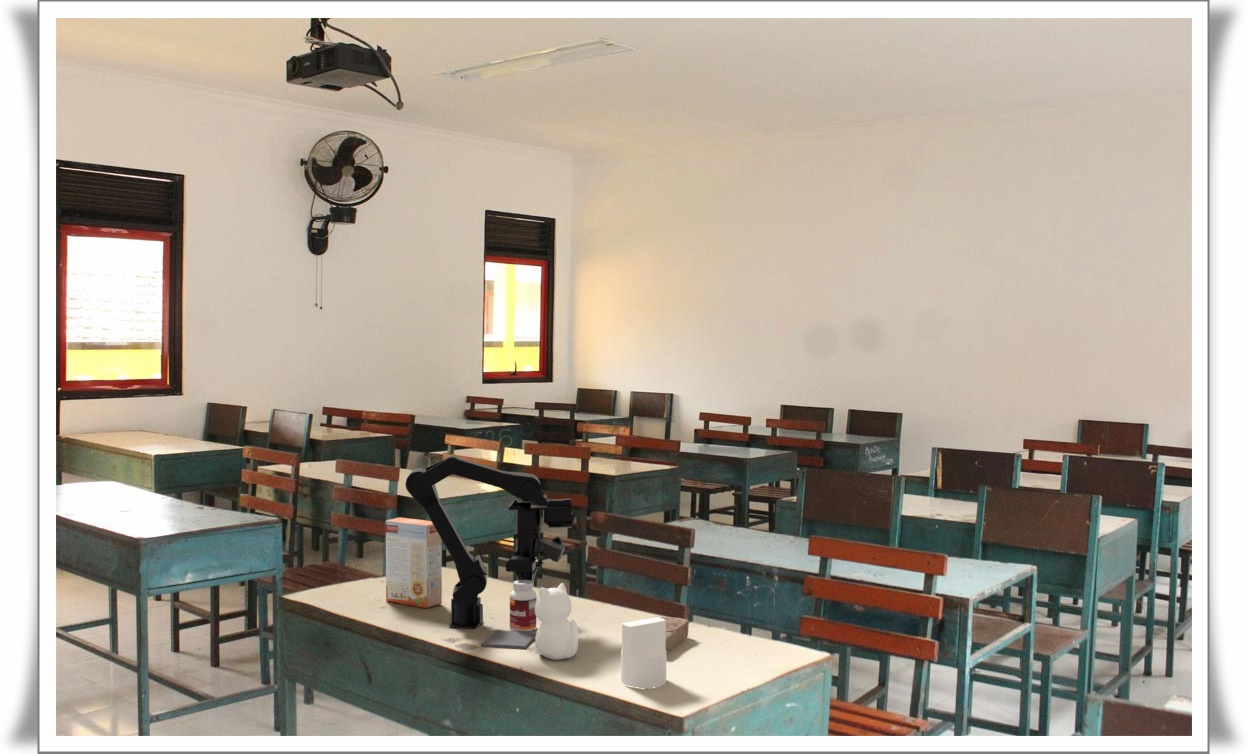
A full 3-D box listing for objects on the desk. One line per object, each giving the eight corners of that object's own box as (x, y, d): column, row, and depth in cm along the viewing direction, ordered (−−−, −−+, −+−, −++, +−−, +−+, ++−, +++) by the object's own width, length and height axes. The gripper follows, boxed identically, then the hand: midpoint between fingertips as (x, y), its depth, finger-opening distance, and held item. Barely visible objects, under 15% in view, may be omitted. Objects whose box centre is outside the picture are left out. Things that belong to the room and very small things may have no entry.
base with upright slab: (638, 692, 217) (638, 630, 216) (612, 679, 224) (612, 620, 224) (675, 683, 222) (675, 623, 221) (648, 671, 229) (649, 613, 229)
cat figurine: (556, 646, 247) (555, 578, 246) (594, 658, 238) (594, 587, 237) (524, 655, 240) (523, 585, 240) (562, 667, 231) (561, 595, 231)
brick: (662, 659, 239) (662, 637, 238) (626, 654, 242) (626, 632, 242) (689, 639, 254) (689, 618, 254) (655, 635, 257) (655, 614, 257)
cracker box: (443, 604, 282) (442, 521, 281) (426, 609, 277) (426, 525, 276) (401, 596, 289) (401, 516, 288) (385, 601, 284) (384, 519, 283)
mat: (481, 646, 246) (481, 643, 246) (495, 632, 257) (495, 629, 257) (525, 648, 244) (525, 646, 244) (537, 634, 255) (537, 632, 255)
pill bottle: (504, 630, 259) (504, 582, 258) (520, 624, 264) (520, 577, 264) (525, 634, 256) (525, 586, 255) (541, 628, 261) (541, 581, 260)
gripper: (553, 537, 253) (553, 605, 254) (570, 522, 271) (570, 586, 272) (505, 535, 255) (505, 603, 256) (525, 520, 273) (525, 584, 274)
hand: (528, 594), depth 264 cm, fingers closed
